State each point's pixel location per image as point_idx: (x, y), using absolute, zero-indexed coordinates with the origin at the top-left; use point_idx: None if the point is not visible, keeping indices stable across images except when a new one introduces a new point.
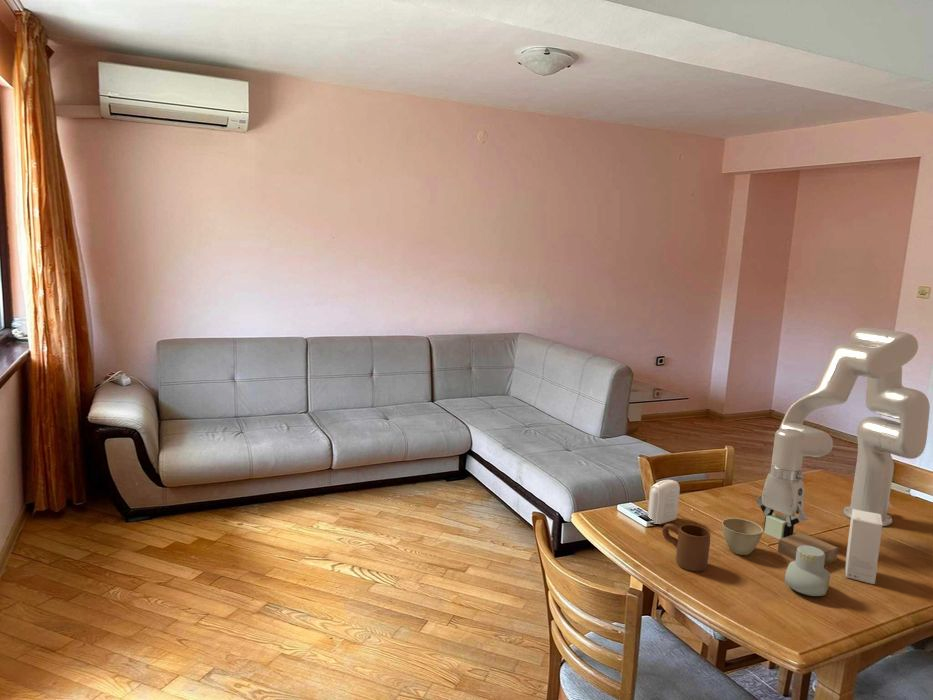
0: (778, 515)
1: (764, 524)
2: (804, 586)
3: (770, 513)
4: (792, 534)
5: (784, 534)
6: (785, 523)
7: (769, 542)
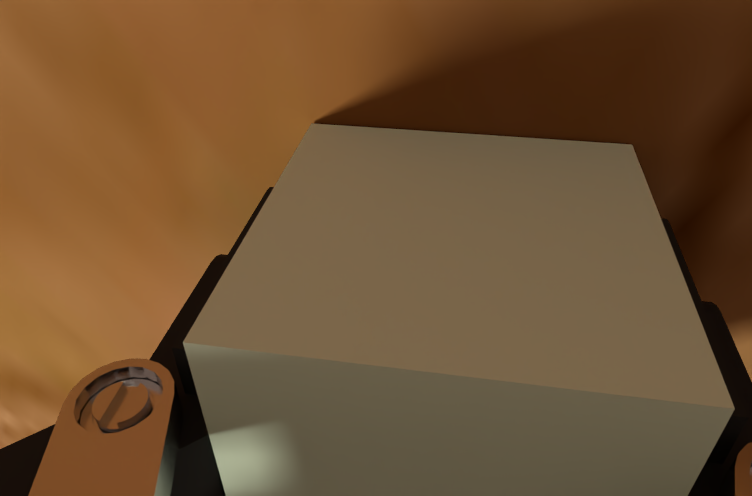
0: (312, 424)
1: None
2: None
3: (179, 489)
4: (714, 316)
5: None
6: None
7: None
